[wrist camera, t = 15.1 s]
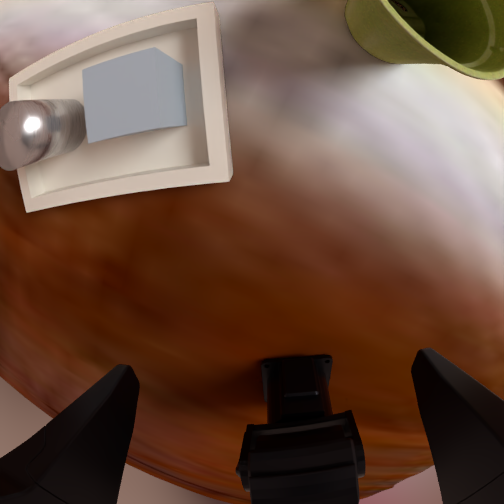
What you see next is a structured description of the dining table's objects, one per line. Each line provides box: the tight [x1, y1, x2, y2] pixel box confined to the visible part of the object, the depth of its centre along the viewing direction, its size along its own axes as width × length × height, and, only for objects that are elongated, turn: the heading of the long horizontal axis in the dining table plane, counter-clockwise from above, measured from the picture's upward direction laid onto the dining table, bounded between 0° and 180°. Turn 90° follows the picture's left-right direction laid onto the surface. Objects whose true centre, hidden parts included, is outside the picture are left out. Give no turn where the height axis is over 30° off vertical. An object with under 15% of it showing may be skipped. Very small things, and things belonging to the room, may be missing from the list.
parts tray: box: [9, 2, 233, 213], centre depth 15 cm, size 11×16×2 cm
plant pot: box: [345, 0, 504, 80], centre depth 9 cm, size 9×9×9 cm
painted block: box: [82, 47, 187, 144], centre depth 13 cm, size 4×4×5 cm
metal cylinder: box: [0, 99, 87, 171], centre depth 13 cm, size 4×4×6 cm
